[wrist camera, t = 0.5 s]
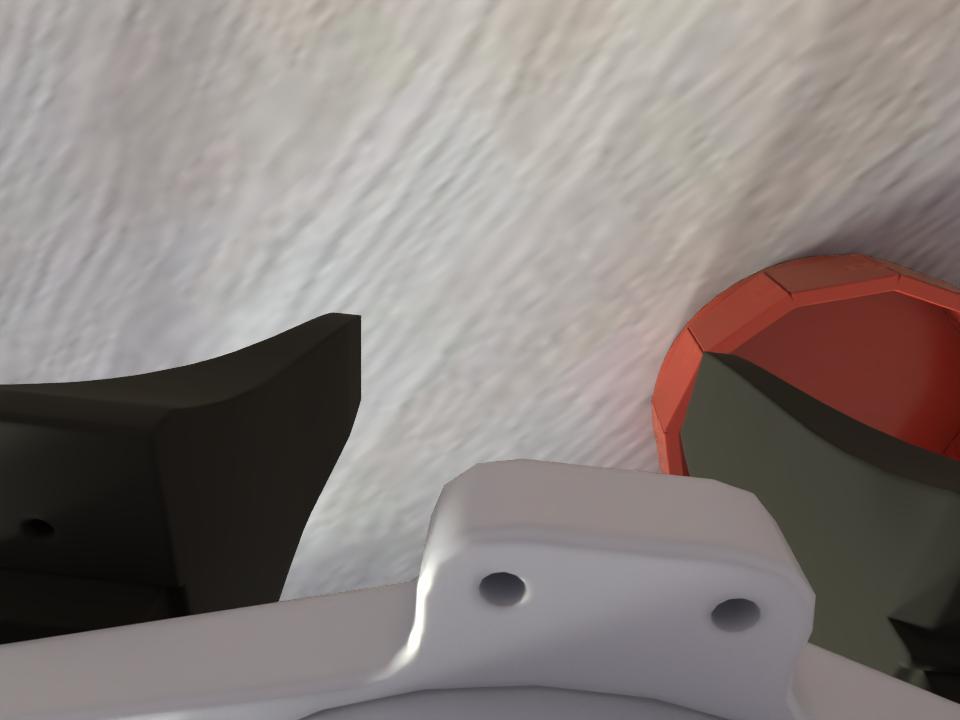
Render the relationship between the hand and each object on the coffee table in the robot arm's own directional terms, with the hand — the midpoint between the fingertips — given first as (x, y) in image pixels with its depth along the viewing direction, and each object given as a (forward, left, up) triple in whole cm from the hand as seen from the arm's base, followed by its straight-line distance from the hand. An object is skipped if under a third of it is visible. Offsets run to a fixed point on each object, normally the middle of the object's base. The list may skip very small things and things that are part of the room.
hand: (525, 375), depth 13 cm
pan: (-5, -11, -9) cm, 15 cm away
